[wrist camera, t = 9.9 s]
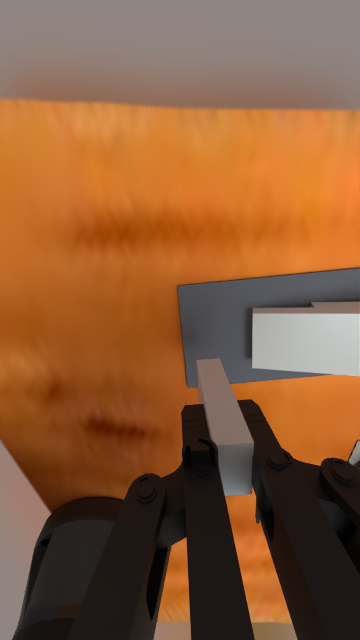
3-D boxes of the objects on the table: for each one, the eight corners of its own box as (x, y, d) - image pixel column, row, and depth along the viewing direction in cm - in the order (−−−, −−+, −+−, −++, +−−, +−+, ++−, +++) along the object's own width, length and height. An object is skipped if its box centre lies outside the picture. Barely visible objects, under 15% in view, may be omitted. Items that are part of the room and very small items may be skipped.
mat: (187, 385, 22) (187, 387, 22) (177, 285, 19) (177, 286, 19) (514, 355, 22) (520, 357, 21) (560, 248, 18) (569, 248, 18)
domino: (252, 368, 19) (395, 378, 16) (252, 313, 18) (412, 313, 15) (252, 359, 21) (384, 367, 18) (252, 307, 19) (398, 307, 16)
